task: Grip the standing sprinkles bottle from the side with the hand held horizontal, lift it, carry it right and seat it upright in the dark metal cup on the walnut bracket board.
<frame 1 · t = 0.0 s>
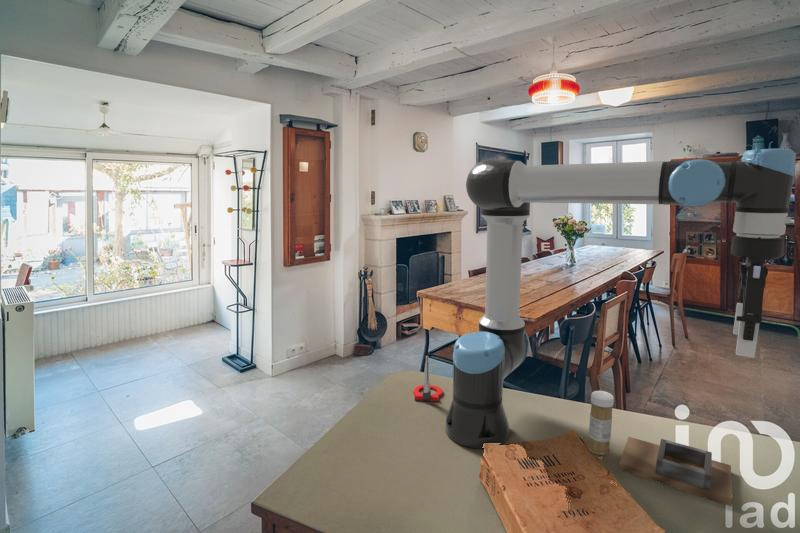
hand: (742, 344, 86), 28 cm above the table, tool pointing down, fingers open, 13 cm apart
tow hook: (427, 395, 127), on the table
sprinkles bottle: (598, 451, 100), on the table
cup bracket: (674, 470, 92), on the table
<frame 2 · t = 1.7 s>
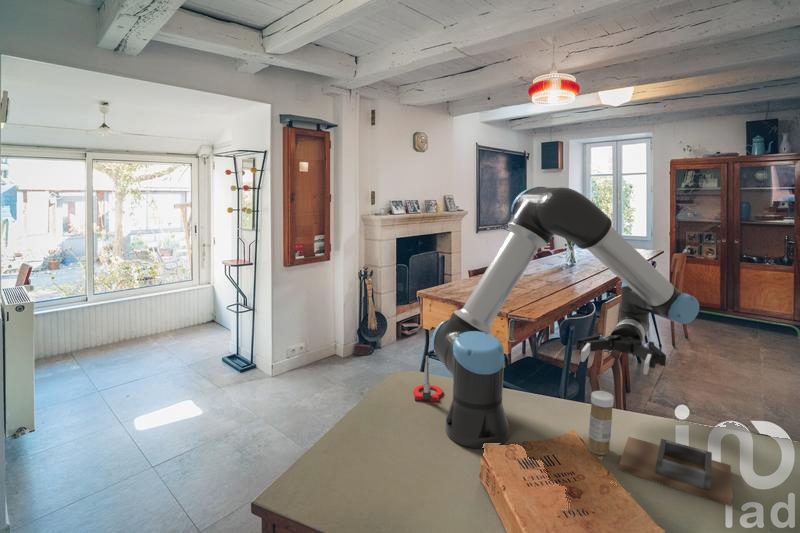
hand: (612, 362, 104), 17 cm above the table, tool horizontal, fingers open, 13 cm apart
nothing on the table moved.
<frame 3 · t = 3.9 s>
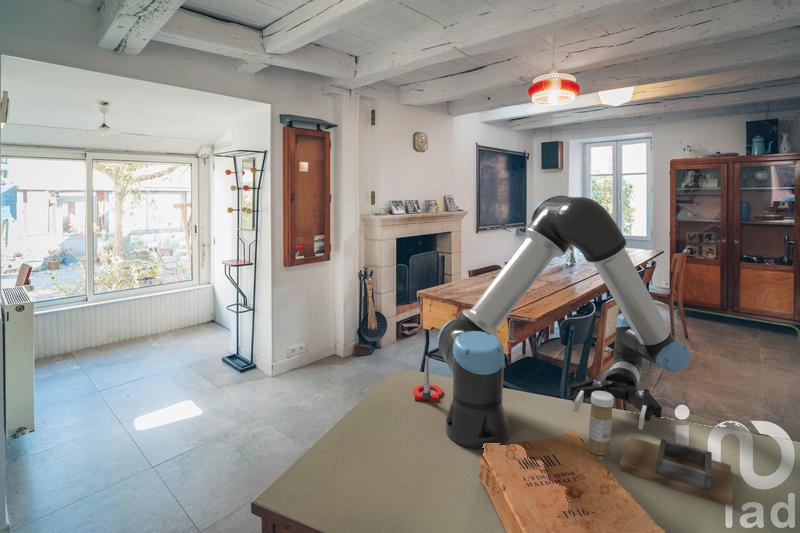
hand: (606, 414, 101), 7 cm above the table, tool horizontal, fingers open, 13 cm apart
nothing on the table moved.
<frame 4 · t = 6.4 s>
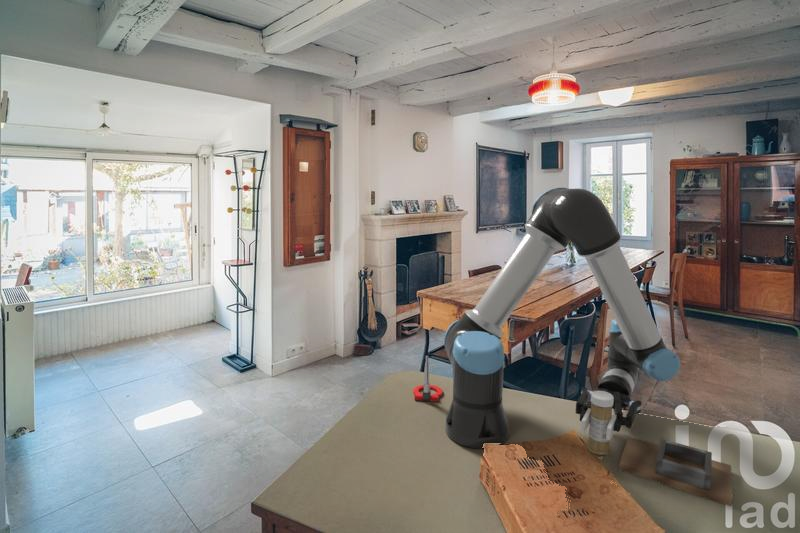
hand: (595, 430, 94), 8 cm above the table, tool horizontal, fingers closed on sprinkles bottle, 4 cm apart
sprinkles bottle: (598, 450, 100), on the table, touching gripper
everything else where it was.
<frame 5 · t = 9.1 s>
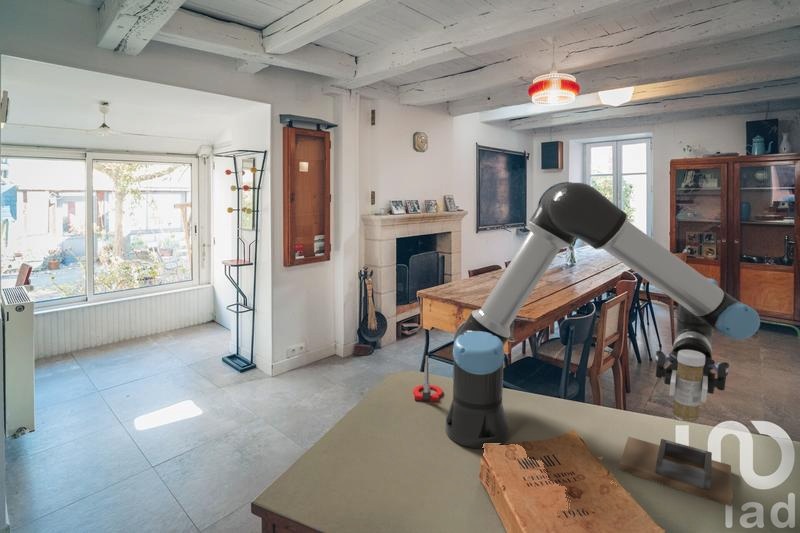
hand: (687, 392, 83), 20 cm above the table, tool horizontal, fingers closed on sprinkles bottle, 4 cm apart
sprinkles bottle: (684, 417, 89), point 13 cm above the table, touching gripper
everything else where it was.
when the fingers open (10 cm above the table, at t = 12.1 s): sprinkles bottle drops 1 cm, resting on cup bracket.
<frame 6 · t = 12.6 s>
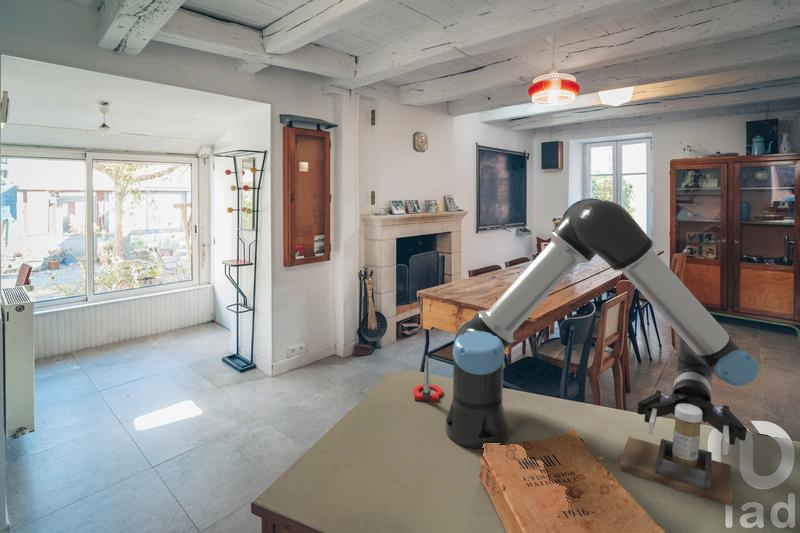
hand: (686, 437, 86), 10 cm above the table, tool horizontal, fingers open, 11 cm apart
sprinkles bottle: (683, 469, 90), point 1 cm above the table, touching cup bracket
everything else where it was.
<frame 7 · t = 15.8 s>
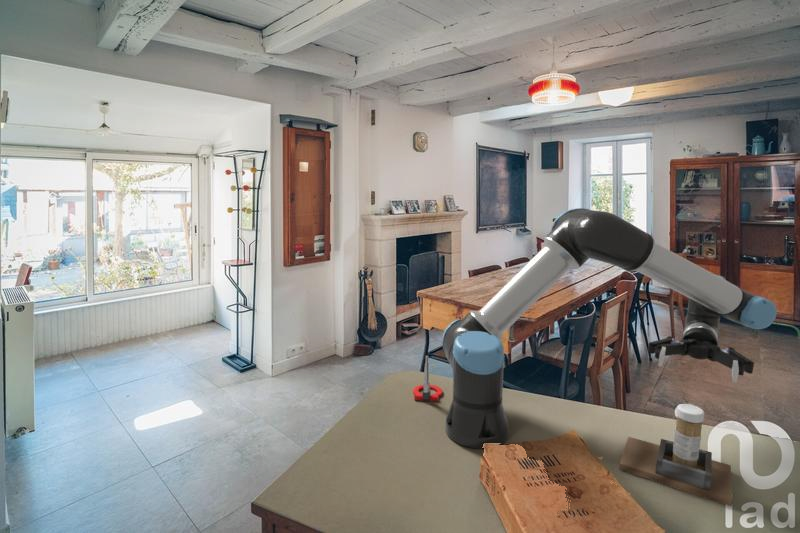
hand: (696, 368, 96), 19 cm above the table, tool horizontal, fingers open, 13 cm apart
nothing on the table moved.
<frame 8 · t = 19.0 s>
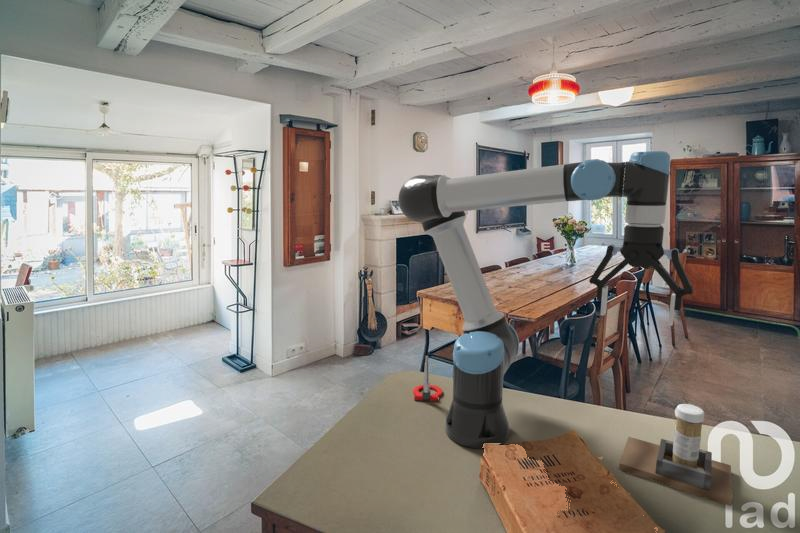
hand: (635, 319, 100), 29 cm above the table, tool pointing down, fingers open, 13 cm apart
nothing on the table moved.
at the end: sprinkles bottle 0.1 cm from the target spot on the cup bracket, point 1.3 cm above the cup bracket's base; sprinkles bottle tilted 0°; the gripper is holding nothing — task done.
